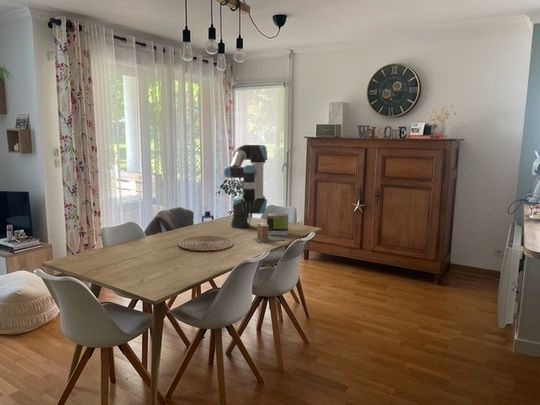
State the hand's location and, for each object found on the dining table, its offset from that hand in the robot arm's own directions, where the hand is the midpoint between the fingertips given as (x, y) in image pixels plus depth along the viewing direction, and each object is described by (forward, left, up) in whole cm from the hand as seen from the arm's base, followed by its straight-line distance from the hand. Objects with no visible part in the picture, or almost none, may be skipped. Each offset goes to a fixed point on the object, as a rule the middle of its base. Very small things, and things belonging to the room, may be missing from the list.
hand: (249, 222), depth 268 cm
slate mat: (0, +15, -13) cm, 20 cm away
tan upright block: (0, +10, -13) cm, 16 cm away
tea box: (-14, +27, -14) cm, 33 cm away
